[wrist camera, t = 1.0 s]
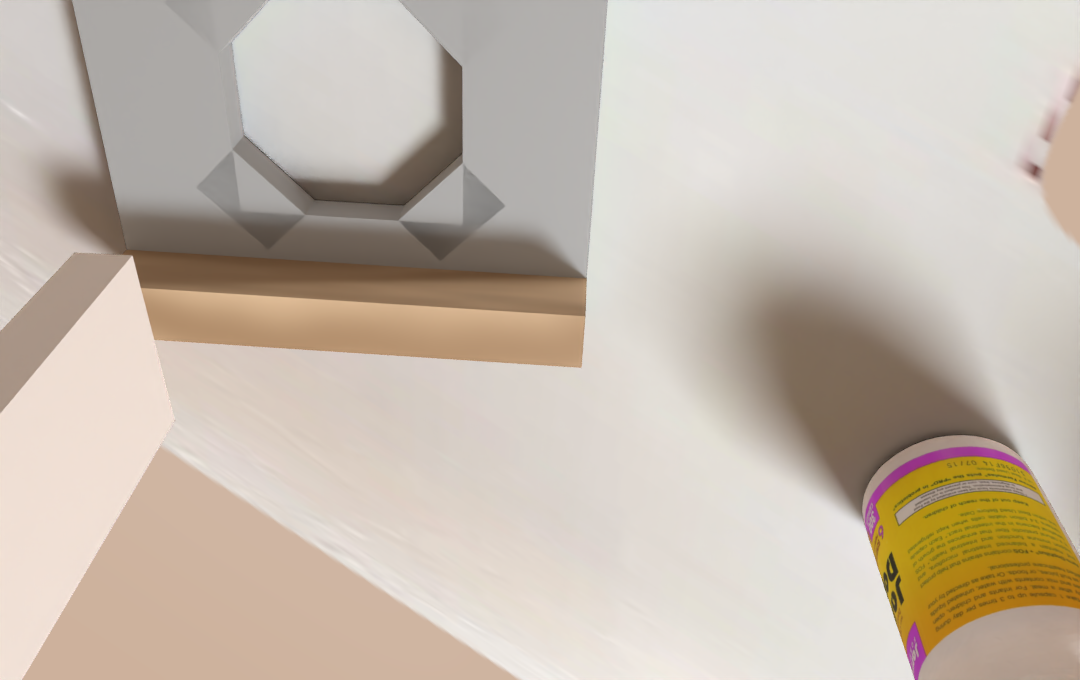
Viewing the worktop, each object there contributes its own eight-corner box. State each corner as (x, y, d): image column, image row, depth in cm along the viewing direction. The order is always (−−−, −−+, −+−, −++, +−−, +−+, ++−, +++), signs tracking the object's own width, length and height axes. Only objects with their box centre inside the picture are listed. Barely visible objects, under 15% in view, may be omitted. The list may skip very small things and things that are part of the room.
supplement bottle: (833, 465, 38) (923, 757, 27) (1001, 402, 36) (1170, 691, 25) (891, 571, 41) (992, 872, 30) (1050, 518, 39) (1219, 822, 28)
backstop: (126, 249, 33) (94, 285, 31) (586, 278, 33) (585, 316, 31) (137, 299, 34) (107, 336, 32) (582, 327, 34) (581, 367, 32)
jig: (55, -177, 27) (33, -174, 26) (617, -149, 27) (618, -144, 26) (150, 282, 35) (137, 299, 34) (583, 310, 35) (582, 327, 34)
